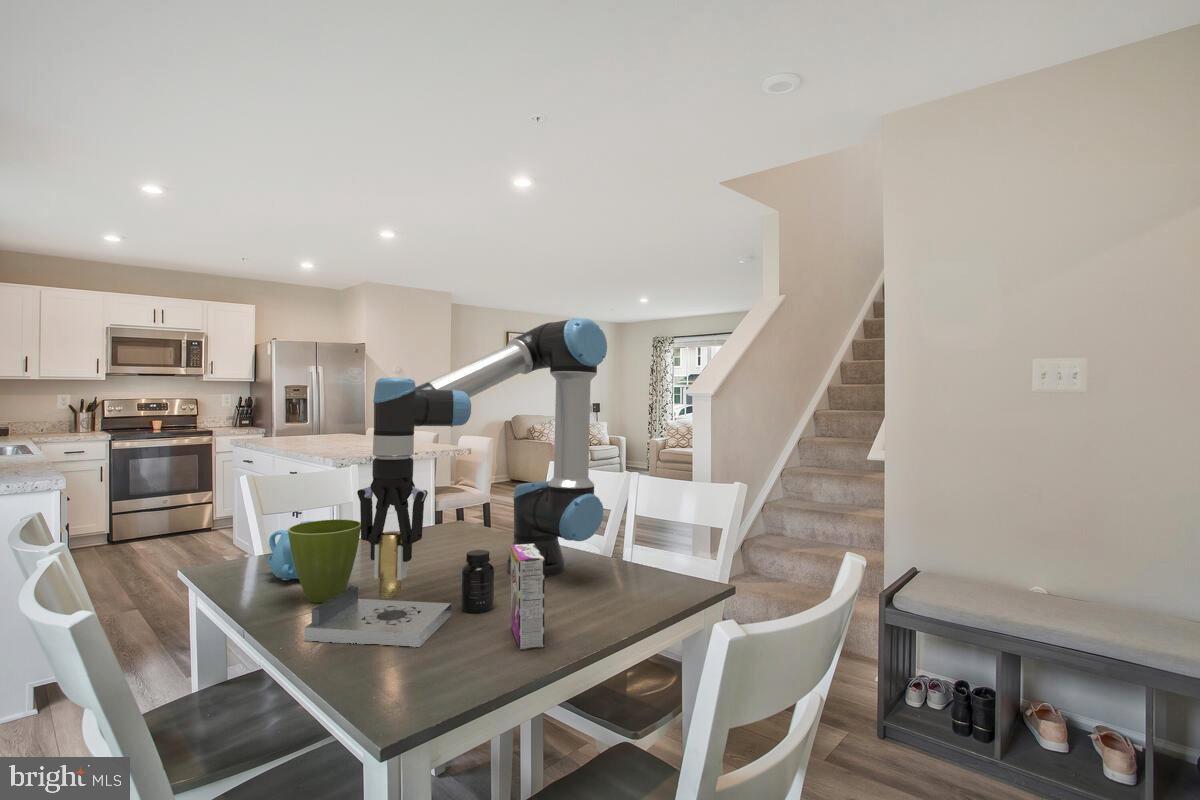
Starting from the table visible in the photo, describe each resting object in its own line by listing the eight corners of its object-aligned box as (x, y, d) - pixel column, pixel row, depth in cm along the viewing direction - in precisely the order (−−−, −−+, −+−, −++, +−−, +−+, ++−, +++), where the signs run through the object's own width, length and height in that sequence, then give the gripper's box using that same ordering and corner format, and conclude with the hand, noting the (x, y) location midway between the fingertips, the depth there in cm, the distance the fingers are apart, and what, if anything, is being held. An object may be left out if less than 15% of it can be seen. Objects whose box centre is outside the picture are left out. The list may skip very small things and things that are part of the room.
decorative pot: (348, 578, 147) (349, 523, 147) (275, 589, 137) (276, 531, 138) (333, 563, 160) (334, 513, 160) (265, 573, 151) (266, 519, 151)
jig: (451, 615, 122) (451, 588, 122) (419, 647, 106) (419, 617, 106) (350, 610, 124) (350, 584, 124) (304, 641, 108) (304, 611, 108)
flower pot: (324, 612, 123) (325, 536, 123) (271, 603, 128) (271, 530, 128) (374, 591, 137) (375, 522, 137) (325, 583, 142) (325, 517, 142)
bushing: (404, 592, 117) (405, 531, 117) (395, 599, 113) (396, 536, 113) (385, 591, 117) (386, 530, 117) (375, 597, 113) (376, 535, 113)
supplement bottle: (458, 605, 128) (459, 549, 128) (489, 601, 131) (490, 547, 131) (464, 615, 122) (465, 557, 122) (497, 611, 125) (497, 554, 125)
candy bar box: (508, 627, 116) (509, 544, 116) (534, 625, 117) (534, 542, 117) (517, 651, 105) (518, 559, 105) (545, 648, 106) (546, 557, 106)
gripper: (442, 456, 118) (440, 574, 118) (361, 454, 120) (359, 569, 119) (427, 460, 110) (424, 585, 110) (341, 457, 112) (338, 580, 112)
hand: (390, 577), depth 115 cm, fingers closed on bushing, 4 cm apart
